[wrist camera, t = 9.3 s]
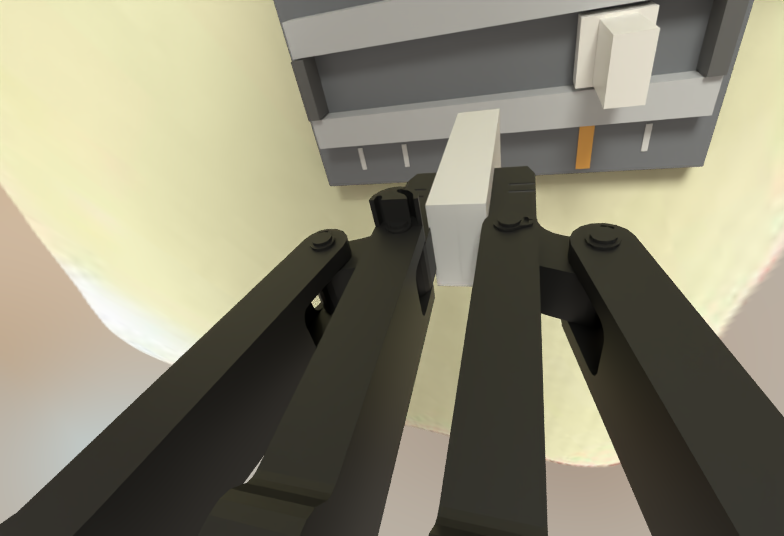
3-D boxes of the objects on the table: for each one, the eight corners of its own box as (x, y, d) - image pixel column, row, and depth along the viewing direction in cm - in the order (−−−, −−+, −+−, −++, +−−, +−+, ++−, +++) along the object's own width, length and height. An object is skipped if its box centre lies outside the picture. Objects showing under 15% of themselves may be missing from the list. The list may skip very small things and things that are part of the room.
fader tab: (578, 13, 25) (591, 33, 20) (652, 1, 24) (685, 19, 19) (572, 81, 27) (583, 114, 22) (639, 73, 26) (665, 106, 21)
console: (271, -52, 29) (242, -50, 26) (794, -194, 19) (843, -217, 16) (337, 176, 40) (321, 196, 37) (694, 154, 30) (712, 178, 27)
